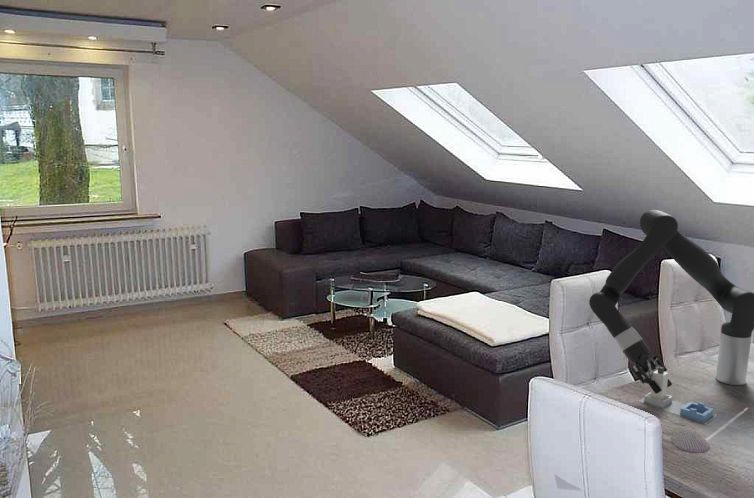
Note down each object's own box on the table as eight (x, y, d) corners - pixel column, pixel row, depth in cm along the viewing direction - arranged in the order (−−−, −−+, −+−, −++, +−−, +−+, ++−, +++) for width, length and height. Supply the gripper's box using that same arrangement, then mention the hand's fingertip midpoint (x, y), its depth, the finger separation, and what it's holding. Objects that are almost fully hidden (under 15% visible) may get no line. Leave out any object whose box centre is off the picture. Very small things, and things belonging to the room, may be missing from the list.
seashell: (684, 421, 181) (716, 428, 172) (685, 440, 181) (718, 448, 172) (661, 428, 176) (693, 436, 167) (662, 448, 176) (695, 456, 167)
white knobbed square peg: (650, 401, 199) (653, 367, 197) (655, 398, 201) (658, 364, 199) (660, 405, 196) (664, 370, 194) (665, 402, 199) (668, 368, 196)
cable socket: (637, 403, 199) (638, 393, 199) (650, 395, 205) (651, 385, 205) (705, 426, 184) (706, 415, 183) (717, 417, 190) (719, 406, 189)
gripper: (629, 343, 196) (663, 390, 190) (650, 334, 205) (683, 378, 199) (612, 355, 201) (644, 400, 195) (634, 345, 210) (665, 388, 204)
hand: (664, 389), depth 197 cm, fingers open, 6 cm apart
